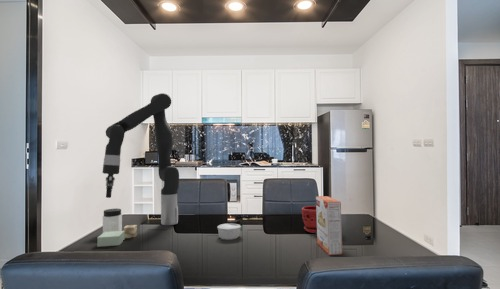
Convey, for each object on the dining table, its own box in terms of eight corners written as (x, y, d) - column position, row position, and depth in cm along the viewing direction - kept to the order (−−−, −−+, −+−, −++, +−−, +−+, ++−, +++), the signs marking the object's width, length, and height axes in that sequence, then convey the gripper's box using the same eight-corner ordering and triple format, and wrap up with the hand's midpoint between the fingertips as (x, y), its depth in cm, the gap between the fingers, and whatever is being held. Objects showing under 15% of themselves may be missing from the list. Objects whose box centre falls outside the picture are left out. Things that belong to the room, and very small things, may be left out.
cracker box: (316, 244, 123) (315, 196, 124) (329, 243, 123) (328, 195, 124) (327, 255, 109) (326, 201, 110) (342, 255, 110) (341, 201, 110)
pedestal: (124, 239, 134) (124, 230, 134) (119, 245, 125) (119, 236, 126) (104, 240, 133) (104, 231, 133) (97, 246, 124) (97, 237, 124)
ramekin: (244, 234, 139) (244, 224, 139) (235, 241, 129) (235, 229, 129) (223, 232, 143) (223, 222, 143) (213, 239, 132) (213, 228, 132)
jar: (103, 236, 139) (103, 212, 139) (101, 233, 145) (101, 209, 146) (123, 233, 144) (123, 210, 144) (120, 230, 150) (120, 207, 151)
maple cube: (137, 234, 142) (137, 224, 142) (134, 237, 137) (134, 227, 137) (126, 235, 141) (126, 225, 141) (123, 238, 136) (123, 227, 136)
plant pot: (330, 228, 147) (329, 205, 147) (325, 235, 135) (325, 210, 135) (305, 226, 152) (305, 204, 153) (299, 232, 140) (298, 208, 141)
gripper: (120, 164, 137) (117, 198, 136) (119, 164, 150) (116, 195, 148) (103, 163, 134) (99, 198, 132) (103, 163, 147) (100, 195, 145)
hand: (108, 196), depth 140 cm, fingers open, 8 cm apart
